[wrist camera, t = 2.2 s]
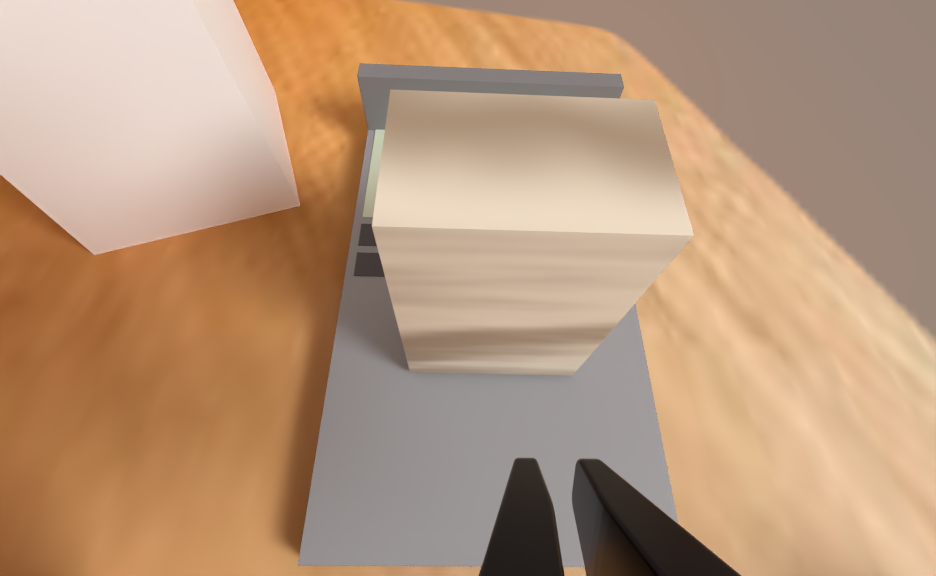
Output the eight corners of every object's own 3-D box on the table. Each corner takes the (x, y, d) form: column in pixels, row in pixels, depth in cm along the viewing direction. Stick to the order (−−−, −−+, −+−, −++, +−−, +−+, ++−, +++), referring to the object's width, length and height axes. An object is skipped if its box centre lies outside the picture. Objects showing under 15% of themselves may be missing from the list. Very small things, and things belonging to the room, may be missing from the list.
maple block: (572, 375, 21) (694, 235, 11) (410, 372, 21) (372, 226, 11) (562, 286, 24) (654, 99, 13) (416, 282, 24) (390, 89, 13)
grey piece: (670, 563, 19) (744, 578, 15) (308, 562, 19) (260, 577, 14) (594, 142, 32) (620, 74, 27) (373, 134, 31) (359, 63, 26)
